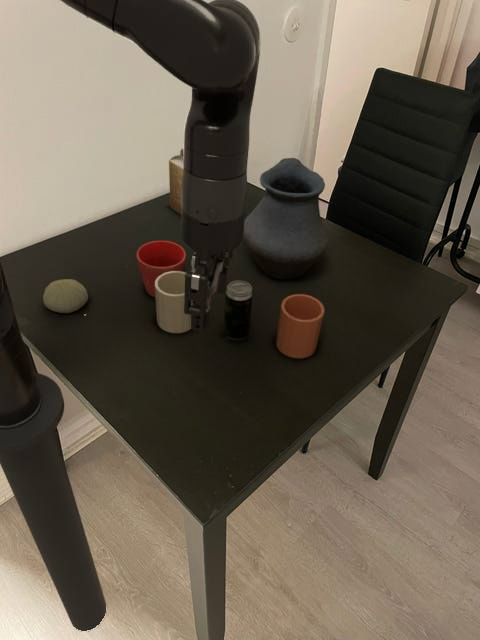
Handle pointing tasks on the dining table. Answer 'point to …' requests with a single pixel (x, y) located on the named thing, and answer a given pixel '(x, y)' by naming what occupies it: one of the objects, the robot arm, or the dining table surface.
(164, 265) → the flower pot
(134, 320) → the dining table surface
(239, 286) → the beer can
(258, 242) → the dark grey vase
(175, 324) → the cream cup
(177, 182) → the milk carton
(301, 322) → the terracotta cup
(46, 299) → the sea urchin shell
